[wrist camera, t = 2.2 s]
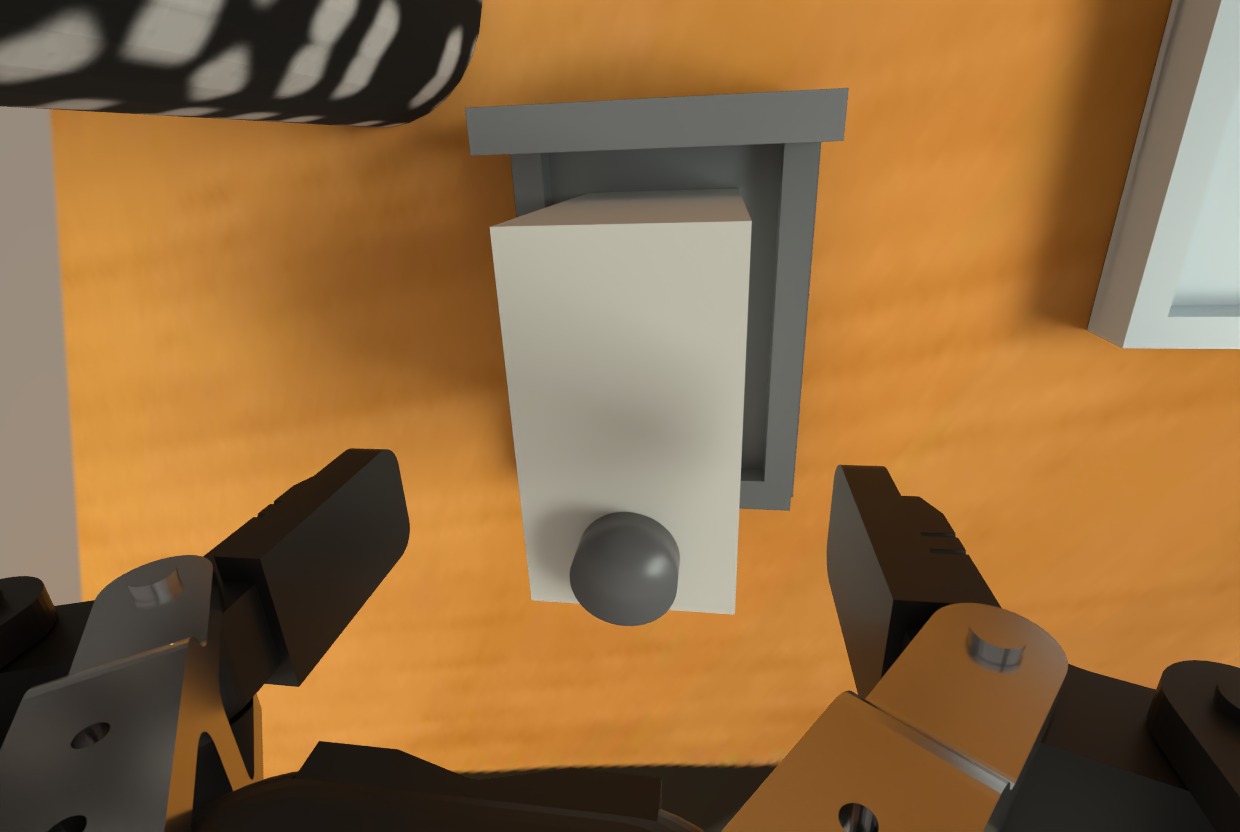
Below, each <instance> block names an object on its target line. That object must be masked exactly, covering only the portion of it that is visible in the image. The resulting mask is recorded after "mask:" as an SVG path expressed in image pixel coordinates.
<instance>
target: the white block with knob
mask: <svg viewBox="0 0 1240 832" xmlns="http://www.w3.org/2000/svg"><path fill="white" fill-rule="evenodd" d="M751 226H752V220H751V218H750V216H749V213H748V211H747V208H746V206H745V203H744V201H743V198H742V196H741V193H740V191H739V188H733V189H700V190H666V191H632V192H599V193H587V194H584V195H581V196H578V197H575V198H572V199H569V200H566V201H563V202H560V203H558V204H555V205H552V206H549V207H546V208H543V209H540V210H537V211H534V212H531V213H528V214H525V215H523V216H520V217H517V218H514V219H511V220H508V221H505V222H502V223H499V224H496V225H493V226H491V227H490V235H491V244H492V253H493V262H494V270H495V279H496V288H497V297H498V306H499V315H500V324H501V332H502V341H503V350H504V359H505V368H506V377H507V386H508V395H509V403H510V412H511V421H512V430H513V439H514V448H515V457H516V466H517V474H518V483H519V492H520V501H521V510H522V519H523V528H524V536H525V545H526V554H527V563H528V572H529V581H530V590H531V599H532V600H536V601H550V602H564V603H579V604H581V605H582V606H583V607H584V608H585V609H586V610H587V611H588V612H589V613H591V614H592V615H594V616H595V617H597V618H599V619H601V620H603V621H605V622H608V623H611V624H616V625H622V626H637V625H643V624H646V623H650V622H652V621H654V620H656V619H658V618H660V617H661V616H662V615H664V614H665V613H666V612H667V611H668V610H678V611H692V612H706V613H721V614H735V596H736V573H737V550H738V527H739V504H740V481H741V458H742V435H743V411H744V388H745V365H746V342H747V319H748V296H749V273H750V250H751Z"/></svg>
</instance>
